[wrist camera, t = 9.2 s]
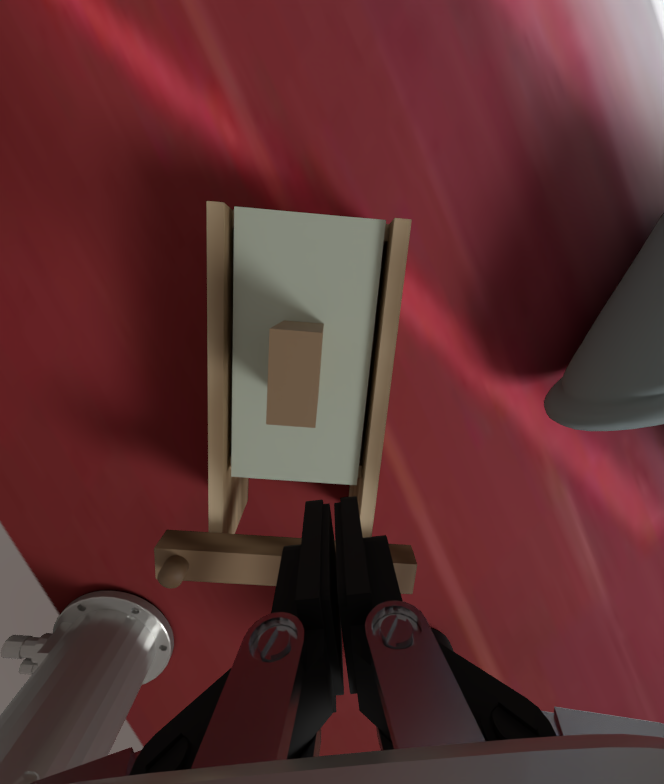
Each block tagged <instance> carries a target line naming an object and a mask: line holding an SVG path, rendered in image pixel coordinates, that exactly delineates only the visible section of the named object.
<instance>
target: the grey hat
mask: <svg viewBox="0 0 664 784" xmlns="http://www.w3.org/2000/svg"><path fill="white" fill-rule="evenodd" d="M544 408H545V410H546V413H547V415H548V416H549V417H550V418H551V419H552V420H554V421H556V422H557V423H559V424H561V425H563V426H566V427H569V428H572V429H577V430H586V431H615V430H627V429H636V428H643V427H650V426H656V425H661V424H664V213H663V214H662V216H661V218H660V219H659V221H658V222H657V224H656V226H655V227H654V229H653V230H652V232H651V234H650V235H649V237H648V238H647V240H646V242H645V243H644V245H643V247H642V248H641V250H640V251H639V253H638V255H637V256H636V258H635V259H634V261H633V263H632V264H631V266H630V267H629V269H628V270H627V272H626V273H625V275H624V277H623V278H622V280H621V281H620V283H619V284H618V286H617V287H616V289H615V291H614V292H613V294H612V295H611V297H610V298H609V300H608V301H607V303H606V305H605V306H604V308H603V309H602V311H601V312H600V314H599V315H598V317H597V319H596V320H595V322H594V324H593V325H592V327H591V328H590V330H589V332H588V333H587V335H586V337H585V338H584V340H583V342H582V344H581V345H580V347H579V348H578V350H577V351H576V353H575V354H574V356H573V358H572V360H571V361H570V363H569V365H568V367H567V369H566V371H565V373H564V375H563V377H562V378H561V379H560V380H559V381H558V382H557V383H556V384H555V385H554V386H553V387H552V388H551V389H550V391H549V392H548V393H547V395H546V397H545V400H544Z"/></svg>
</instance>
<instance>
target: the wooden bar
mask: <svg viewBox="0 0 664 784" xmlns="http://www.w3.org/2000/svg"><path fill="white" fill-rule="evenodd" d="M301 540H302V538H288V537H273V536H257V535H241V534H226V533H210V532H194V531H179V530H166V532H165V533H164V535H163V536H162V538H161V539H160V541H159V542H158V543H157V545H156V546H155V548H154V554H155V573H156V579H158V581H159V583H160V584H161V585H162V586H164V587H166V588H176V587H178V586H179V585H180V584H181V582H182V580H183V581H200V582H216V583H233V584H250V585H267V586H276V584H277V578H278V573H279V567H280V562H281V556H282V551H283V547H284V546H289V545H299V544H301ZM334 542H335V550H336V541H335V540H334ZM389 548H390V552H391V557H392V561H393V565H394V569H395V573H396V577H397V581H398V585H399V589H400V593H401V594H412V593H413V587H414V581H415V575H416V569H417V562H416V559H415V556H414V553H413V550H412V547H411V545H398V544H389Z"/></svg>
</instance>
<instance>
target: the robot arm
mask: <svg viewBox="0 0 664 784" xmlns="http://www.w3.org/2000/svg"><path fill="white" fill-rule="evenodd" d="M340 499H341V502H339V503H334V507H335V539H336V550H335V542H334V535H333V527H332V519H331V512H330V505H329V504H323V500H315V501H306V503H305V513H304V522H303V531H302V540H301V544H299V545H289V546H284V547H283V551H282V556H281V562H280V567H279V573H278V578H277V584H276V590H275V595H274V601H273V606H272V612H271V614H268V615H266V616H263V617H262V618H260V619H259V620H257V621H256V622H255V623H254V624H253V625H252V626H251V627H250V628H249V629H248V631H247V633H246V634H245V636H244V638H243V641H242V643H241V646H240V648H239V651H238V653H237V656H236V658H235V661H234V663H233V666H232V668H231V669H229V670H228V671H227V672H226V673H225V674H224V675H223V676H221V677H220V678H219V679H218V680H217V681H216V682H215V683H213V684H212V685H211V686H210V687H209V688H208V689H207V690H205V691H204V692H203V693H202V694H201V695H200V696H199V697H197V698H196V699H195V700H194V701H193V702H192V703H191V704H189V705H188V706H187V707H186V708H185V709H184V710H183V711H181V712H180V713H179V714H178V715H177V716H176V717H175V718H173V719H172V720H171V721H170V722H169V723H168V724H167V725H165V726H164V727H163V728H162V729H161V730H160V731H159V732H157V733H156V734H155V735H154V736H153V737H152V738H151V740H150V741H149V742H148V743H147V744H146V745H145V746H144V748H143V749H142V750H141V751H138V752H135V753H134V752H133V749H132V747H131V748H128V749H125V750H122V751H119V752H117V753H114V754H111V755H108V754H109V752H110V750H111V748H112V746H113V744H114V742H115V740H116V737H117V735H118V733H119V731H120V729H121V727H122V725H123V723H124V721H125V719H126V717H127V714H128V712H129V710H130V708H131V706H132V704H133V702H134V700H135V698H136V696H137V694H138V692H139V689H140V687H141V685H142V684H145V683H147V682H149V681H151V680H153V679H155V678H156V677H157V676H158V675H159V674H160V673H162V671H163V670H164V668H165V667H166V666H167V664H168V661H169V659H170V657H171V655H172V651H173V648H174V637H173V632H172V629H171V627H170V625H169V623H168V621H167V619H166V618H165V617H164V615H163V614H162V613H161V612H160V611H159V610H158V609H157V608H156V607H155V606H153V605H152V604H150V603H149V602H147V601H146V600H144V599H142V598H140V597H137V596H135V595H132V594H129V593H125V592H119V591H97V592H92V593H88V594H86V595H83V596H80V597H79V598H77V599H75V600H74V601H72V602H71V603H70V604H69V605H68V606H67V607H66V608H65V609H64V611H63V612H62V613H61V614H60V616H59V617H58V618H57V621H56V623H55V625H54V629H53V634H50V633H46V634H44V635H42V636H41V637H40V638H38V637H32V636H23V635H13V636H11V637H9V638H8V639H7V640H6V641H5V643H4V645H3V647H2V650H1V657H3V658H15V659H16V658H17V659H21V658H26V659H25V660H24V661H23V662H22V664H21V665H20V668H19V673H20V674H31V677H30V678H29V679H28V681H27V682H26V683H25V684H24V686H23V687H22V688H21V690H20V691H19V692H18V693H17V695H16V696H15V697H14V699H13V700H12V701H11V702H10V704H9V705H8V706H7V707H6V709H5V710H4V711H3V713H2V714H1V715H0V784H664V724H662V723H658V722H651V721H644V720H638V719H631V718H625V717H618V716H612V715H605V714H599V713H592V712H586V711H579V710H572V709H566V708H559V707H554V713H551V712H545V711H541V710H540V709H539V708H538V707H537V706H536V705H534V704H533V703H532V702H531V701H529V700H528V699H527V698H525V697H524V696H522V695H521V694H519V693H518V692H516V691H514V690H513V689H511V688H510V687H508V686H507V685H505V684H503V683H502V682H500V681H499V680H497V679H496V678H494V677H492V676H491V675H489V674H488V673H486V672H485V671H483V670H481V669H480V668H478V667H477V666H475V665H474V664H472V663H470V662H469V661H467V660H466V659H464V658H463V657H461V656H459V655H458V654H456V653H455V652H453V651H452V650H450V649H448V648H447V647H445V646H444V645H442V644H441V643H439V642H437V640H436V638H435V636H434V634H433V632H432V630H431V628H430V626H429V624H428V622H427V620H426V618H425V617H424V615H423V614H422V612H421V611H420V610H419V609H417V608H416V607H415V606H413V605H411V604H409V603H407V602H403V601H402V598H401V593H400V589H399V585H398V581H397V577H396V573H395V569H394V565H393V561H392V557H391V552H390V548H389V544H388V540H387V537H386V535H385V536H375V537H366V538H363V536H362V529H361V522H360V515H359V508H358V501H357V496H353V497H343V498H340ZM341 628H342V635H343V643H344V650H345V658H346V665H347V673H348V680H349V688H350V694H355V693H357V694H358V702H359V710H360V711H361V712H362V713H363V714H364V715H365V716H366V717H367V718H368V719H369V720H370V721H371V722H372V723H373V724H375V725H376V728H377V737H378V741H379V745H380V749H381V751H372V752H361V753H351V754H340V755H329V756H319V752H320V745H321V727H322V726H323V724H324V723H325V722H326V721H327V719H328V718H329V717H330V716H331V715H332V713H333V712H336V695H344V685H343V660H342V635H341Z"/></svg>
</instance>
